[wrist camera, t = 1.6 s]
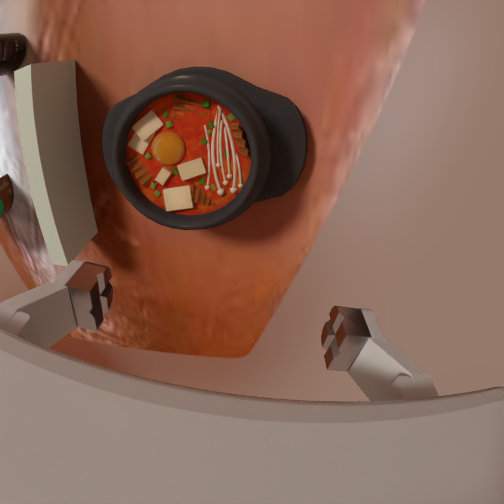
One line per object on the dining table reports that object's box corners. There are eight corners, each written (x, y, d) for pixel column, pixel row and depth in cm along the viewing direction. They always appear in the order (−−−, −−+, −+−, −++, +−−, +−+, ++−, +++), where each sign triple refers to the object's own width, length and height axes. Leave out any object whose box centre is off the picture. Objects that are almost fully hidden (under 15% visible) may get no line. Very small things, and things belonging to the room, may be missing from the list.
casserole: (310, 69, 28) (321, 66, 21) (299, 216, 38) (304, 252, 31) (103, 79, 29) (64, 85, 22) (119, 210, 40) (90, 241, 33)
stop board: (75, 60, 27) (30, 64, 20) (98, 232, 42) (68, 266, 34) (58, 65, 28) (14, 71, 20) (82, 231, 42) (52, 264, 34)
